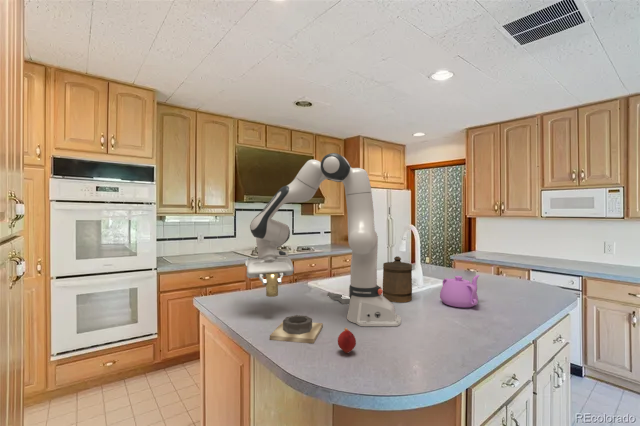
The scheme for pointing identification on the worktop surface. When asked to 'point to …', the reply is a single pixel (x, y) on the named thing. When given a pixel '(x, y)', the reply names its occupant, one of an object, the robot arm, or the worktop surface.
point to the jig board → (297, 330)
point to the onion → (346, 341)
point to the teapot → (459, 292)
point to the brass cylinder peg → (272, 284)
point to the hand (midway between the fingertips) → (272, 283)
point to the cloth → (338, 298)
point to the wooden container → (397, 281)
